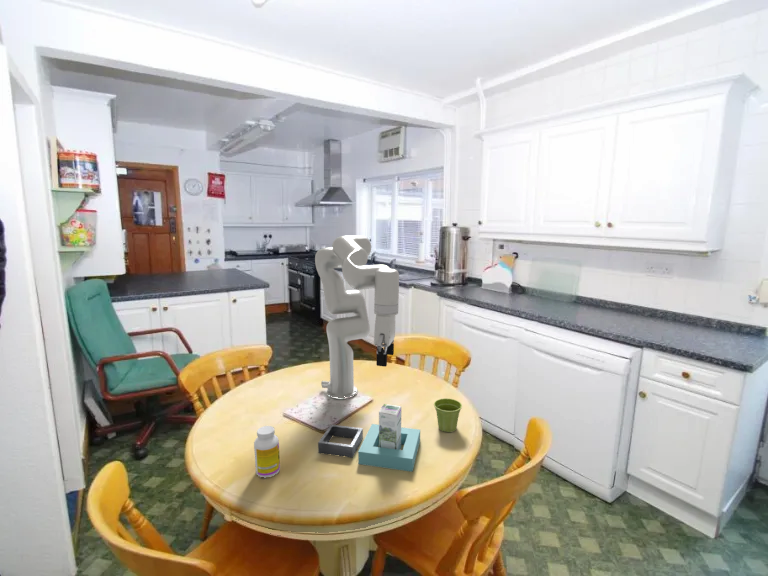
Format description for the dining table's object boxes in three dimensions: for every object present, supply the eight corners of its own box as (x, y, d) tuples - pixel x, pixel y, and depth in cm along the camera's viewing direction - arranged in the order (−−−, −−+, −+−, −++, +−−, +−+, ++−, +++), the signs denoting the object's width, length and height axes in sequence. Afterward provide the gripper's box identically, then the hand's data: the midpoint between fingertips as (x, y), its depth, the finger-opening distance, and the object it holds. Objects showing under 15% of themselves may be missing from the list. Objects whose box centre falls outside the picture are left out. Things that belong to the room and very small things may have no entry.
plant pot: (444, 438, 128) (444, 413, 127) (428, 425, 137) (428, 401, 135) (466, 431, 133) (467, 407, 131) (449, 418, 141) (450, 396, 139)
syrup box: (401, 448, 123) (402, 405, 120) (396, 459, 117) (396, 414, 115) (384, 445, 124) (384, 402, 122) (378, 455, 119) (378, 411, 116)
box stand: (318, 453, 120) (318, 442, 120) (331, 434, 131) (330, 424, 130) (352, 457, 118) (352, 447, 117) (362, 438, 128) (362, 428, 128)
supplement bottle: (283, 473, 111) (281, 431, 108) (259, 482, 107) (256, 439, 105) (276, 461, 116) (273, 421, 114) (253, 469, 113) (250, 428, 110)
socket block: (358, 464, 115) (358, 451, 114) (372, 435, 130) (372, 423, 130) (412, 471, 111) (412, 458, 111) (420, 441, 127) (420, 429, 126)
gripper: (381, 301, 132) (380, 349, 135) (367, 314, 115) (366, 369, 119) (403, 302, 130) (402, 351, 133) (392, 316, 113) (390, 372, 117)
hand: (385, 359), depth 126 cm, fingers open, 9 cm apart
